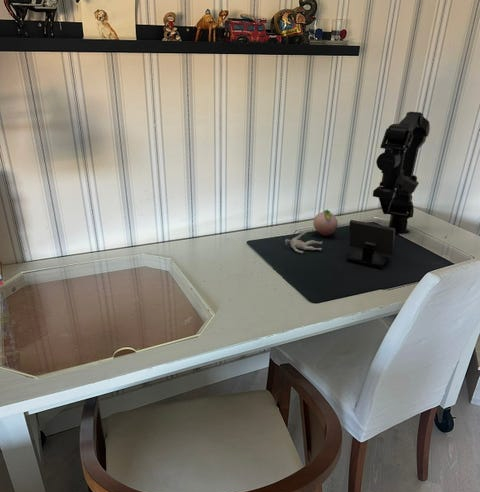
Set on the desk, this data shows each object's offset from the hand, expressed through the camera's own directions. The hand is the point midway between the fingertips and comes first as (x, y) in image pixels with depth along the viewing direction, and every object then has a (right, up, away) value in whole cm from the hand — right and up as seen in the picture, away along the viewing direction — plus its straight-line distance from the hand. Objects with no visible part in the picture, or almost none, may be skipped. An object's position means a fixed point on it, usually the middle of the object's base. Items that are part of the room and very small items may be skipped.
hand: (385, 213), depth 163 cm
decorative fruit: (-18, -6, +15) cm, 24 cm away
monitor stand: (-7, -16, -5) cm, 18 cm away
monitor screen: (-6, -12, -5) cm, 15 cm away
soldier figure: (-27, -12, +3) cm, 29 cm away
